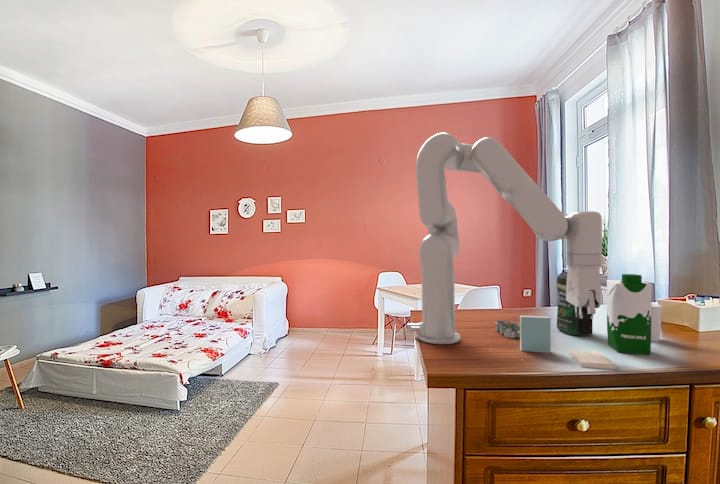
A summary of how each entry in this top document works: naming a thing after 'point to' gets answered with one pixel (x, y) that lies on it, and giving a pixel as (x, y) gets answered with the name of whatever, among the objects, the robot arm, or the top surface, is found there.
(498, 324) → the egg carton
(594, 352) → the ochre tile
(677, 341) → the top surface
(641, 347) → the milk carton
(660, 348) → the top surface
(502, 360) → the top surface
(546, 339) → the teal tile
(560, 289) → the coffee jar
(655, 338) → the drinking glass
